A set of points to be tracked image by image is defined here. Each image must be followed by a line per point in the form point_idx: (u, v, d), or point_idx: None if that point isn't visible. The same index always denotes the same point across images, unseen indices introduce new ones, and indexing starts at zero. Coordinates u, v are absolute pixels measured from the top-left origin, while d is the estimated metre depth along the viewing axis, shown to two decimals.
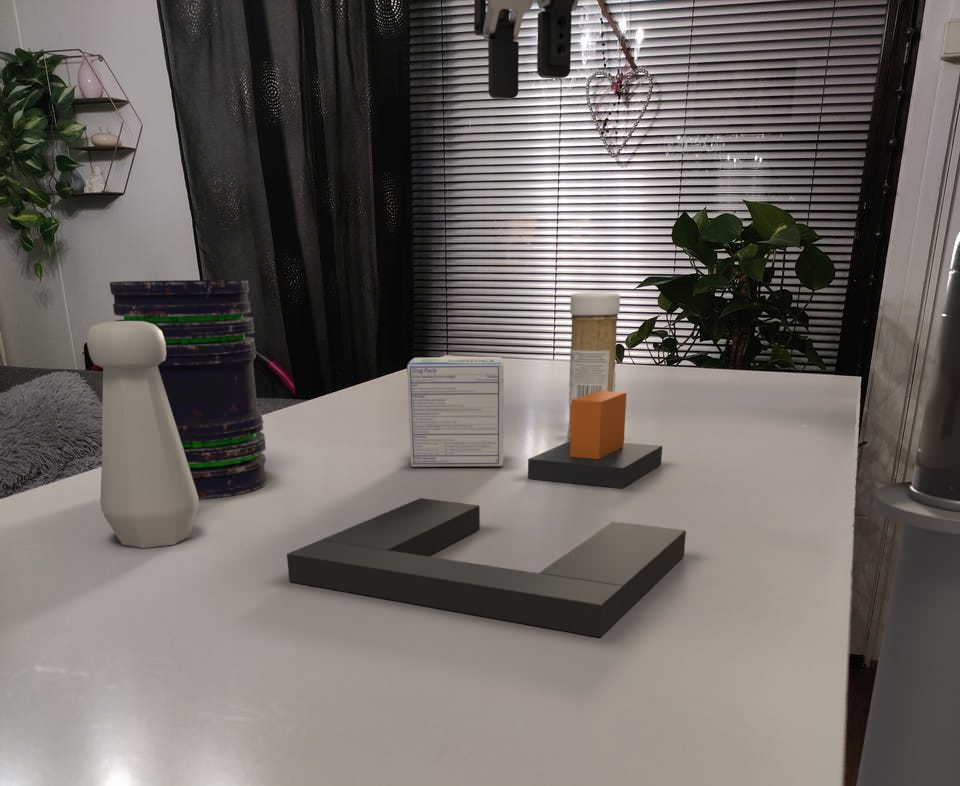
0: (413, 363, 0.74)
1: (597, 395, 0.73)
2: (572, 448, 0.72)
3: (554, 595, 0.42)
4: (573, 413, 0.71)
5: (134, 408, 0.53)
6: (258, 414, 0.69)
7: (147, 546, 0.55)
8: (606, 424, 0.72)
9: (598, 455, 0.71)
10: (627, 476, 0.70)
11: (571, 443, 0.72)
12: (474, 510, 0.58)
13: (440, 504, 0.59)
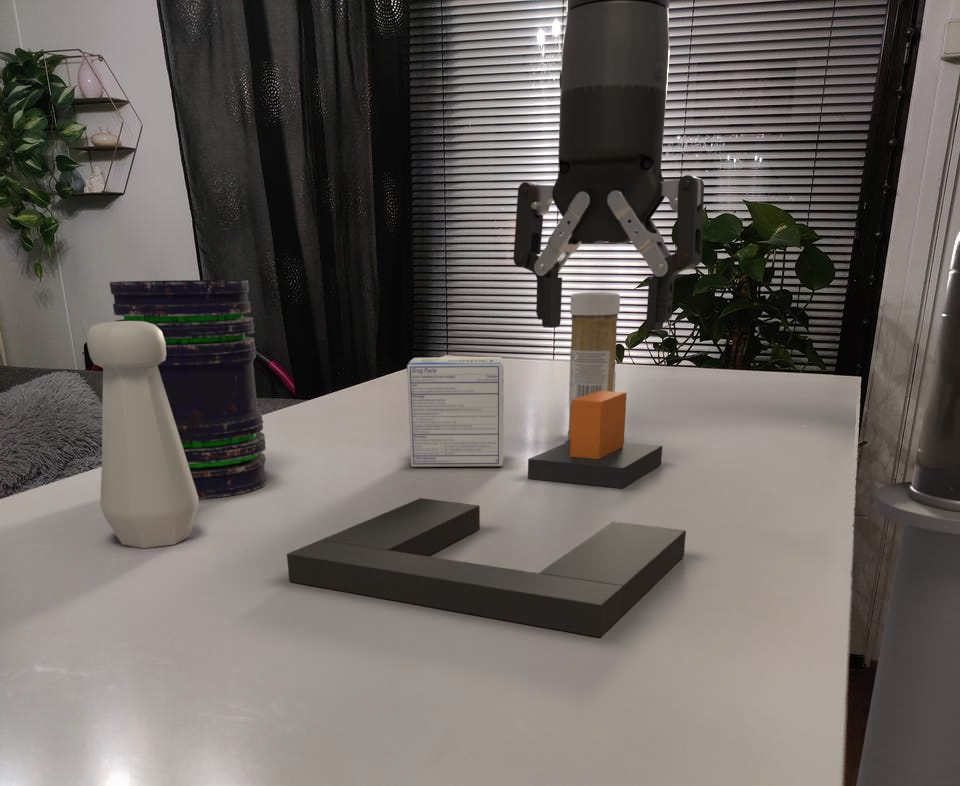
0: (413, 363, 0.74)
1: (597, 395, 0.73)
2: (572, 448, 0.72)
3: (554, 595, 0.42)
4: (573, 413, 0.71)
5: (134, 408, 0.53)
6: (258, 414, 0.69)
7: (147, 546, 0.55)
8: (606, 424, 0.72)
9: (598, 455, 0.71)
10: (627, 476, 0.70)
11: (571, 443, 0.72)
12: (474, 510, 0.58)
13: (440, 504, 0.59)
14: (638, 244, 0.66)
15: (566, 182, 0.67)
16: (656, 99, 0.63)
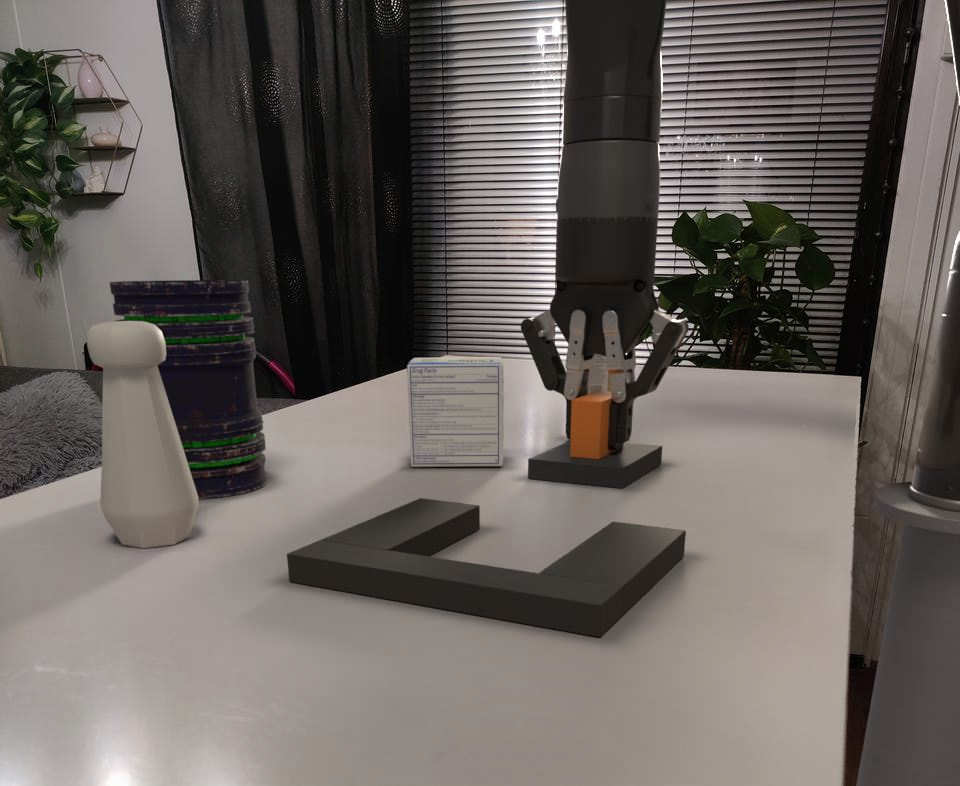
0: (413, 363, 0.74)
1: (597, 395, 0.73)
2: (572, 448, 0.72)
3: (554, 595, 0.42)
4: (573, 413, 0.71)
5: (134, 408, 0.53)
6: (258, 414, 0.69)
7: (147, 546, 0.55)
8: (606, 424, 0.72)
9: (598, 455, 0.71)
10: (627, 476, 0.70)
11: (571, 443, 0.72)
12: (474, 510, 0.58)
13: (440, 504, 0.59)
14: (610, 366, 0.70)
15: (559, 299, 0.70)
16: (648, 227, 0.66)
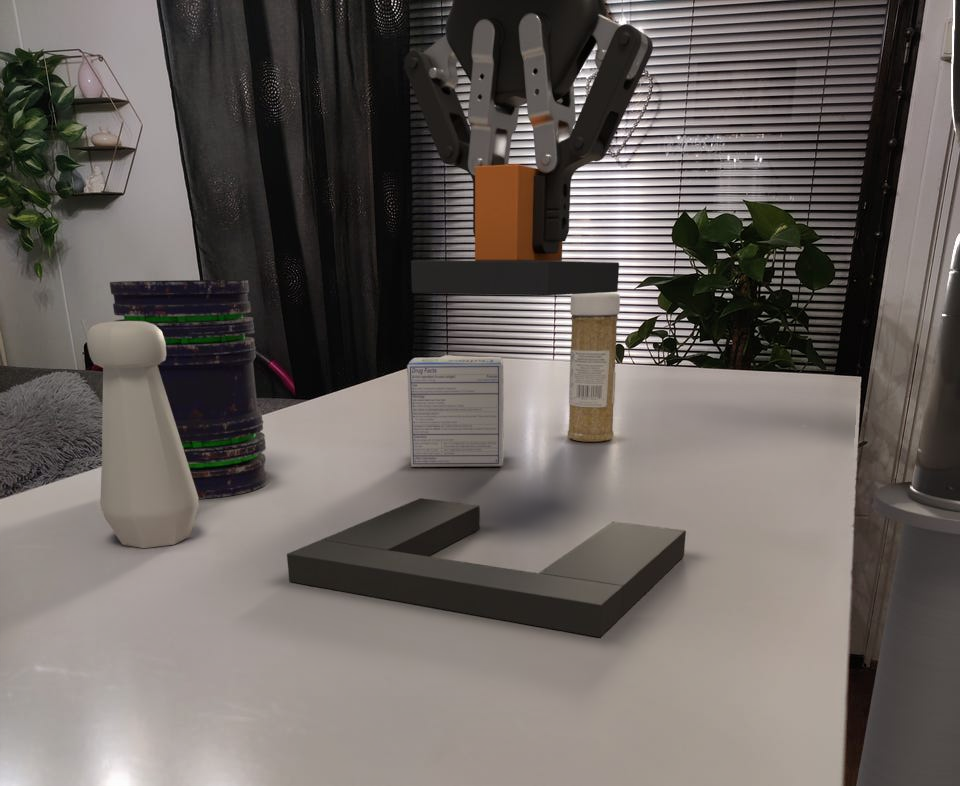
0: (413, 363, 0.74)
1: None
2: (478, 246, 0.48)
3: (554, 595, 0.42)
4: (477, 188, 0.47)
5: (134, 408, 0.53)
6: (258, 414, 0.69)
7: (147, 546, 0.55)
8: (528, 208, 0.47)
9: (515, 254, 0.47)
10: (557, 279, 0.46)
11: (476, 238, 0.48)
12: (474, 510, 0.58)
13: (440, 504, 0.59)
14: (532, 111, 0.46)
15: (457, 11, 0.46)
16: None
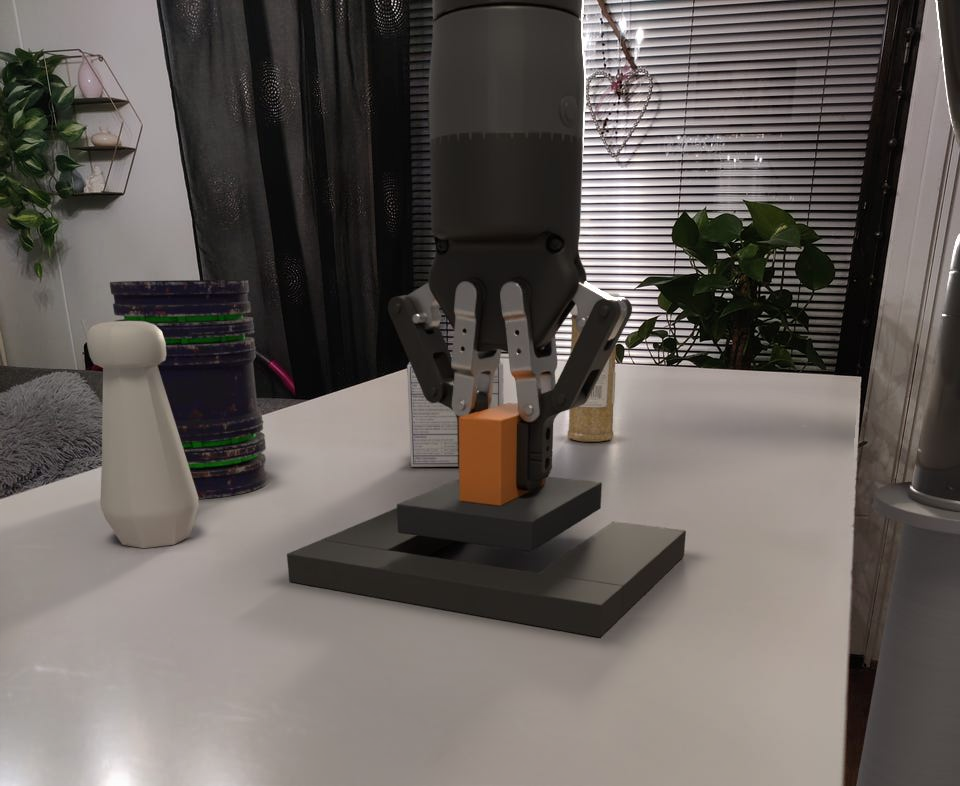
0: None
1: (501, 410, 0.49)
2: (462, 488, 0.49)
3: (554, 595, 0.42)
4: (461, 437, 0.48)
5: (134, 408, 0.53)
6: (258, 414, 0.69)
7: (147, 546, 0.55)
8: (512, 453, 0.48)
9: (499, 500, 0.48)
10: (540, 532, 0.46)
11: (461, 481, 0.48)
12: None
13: None
14: (514, 368, 0.46)
15: (440, 266, 0.47)
16: (565, 151, 0.42)
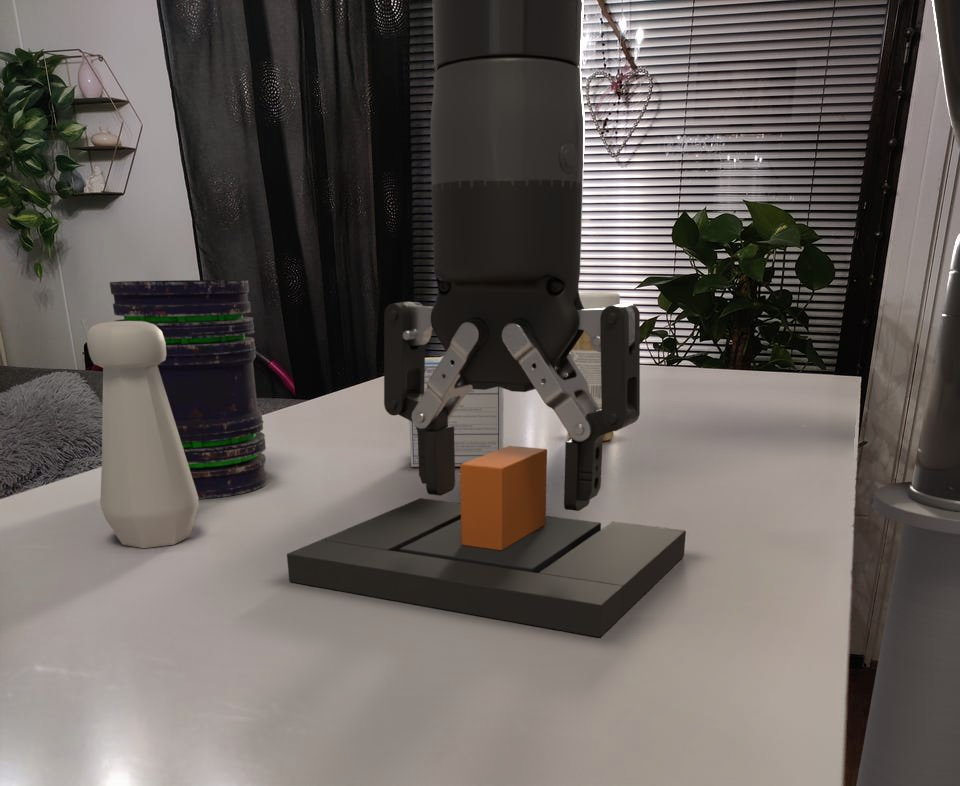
0: None
1: (502, 455, 0.50)
2: (464, 533, 0.50)
3: (554, 595, 0.42)
4: (463, 483, 0.48)
5: (134, 408, 0.53)
6: (258, 414, 0.69)
7: (147, 546, 0.55)
8: (512, 499, 0.49)
9: (500, 544, 0.49)
10: None
11: (462, 526, 0.49)
12: None
13: (440, 504, 0.59)
14: (547, 398, 0.46)
15: (447, 306, 0.47)
16: (565, 197, 0.43)
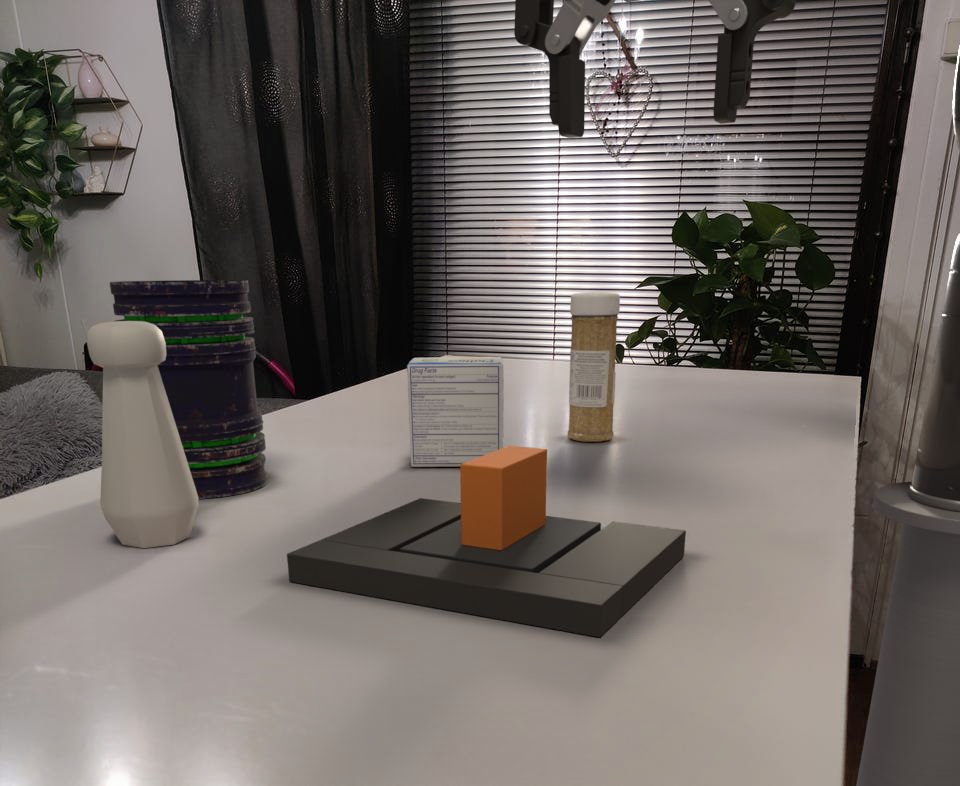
0: (413, 363, 0.74)
1: (502, 455, 0.50)
2: (464, 533, 0.50)
3: (554, 595, 0.42)
4: (463, 483, 0.48)
5: (134, 408, 0.53)
6: (258, 414, 0.69)
7: (147, 546, 0.55)
8: (512, 499, 0.49)
9: (500, 544, 0.49)
10: None
11: (462, 526, 0.49)
12: None
13: (440, 504, 0.59)
14: None
15: None
16: None
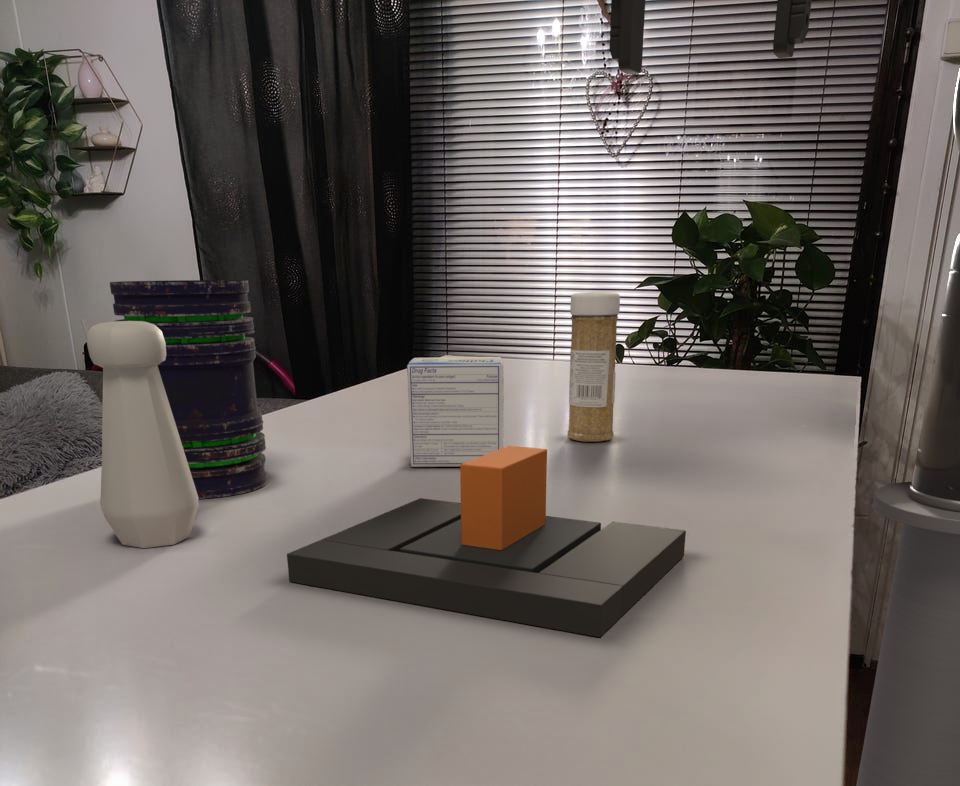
0: (413, 363, 0.74)
1: (502, 455, 0.50)
2: (464, 533, 0.50)
3: (554, 595, 0.42)
4: (463, 483, 0.48)
5: (134, 408, 0.53)
6: (258, 414, 0.69)
7: (147, 546, 0.55)
8: (512, 499, 0.49)
9: (500, 544, 0.49)
10: None
11: (462, 526, 0.49)
12: None
13: (440, 504, 0.59)
14: None
15: None
16: None
